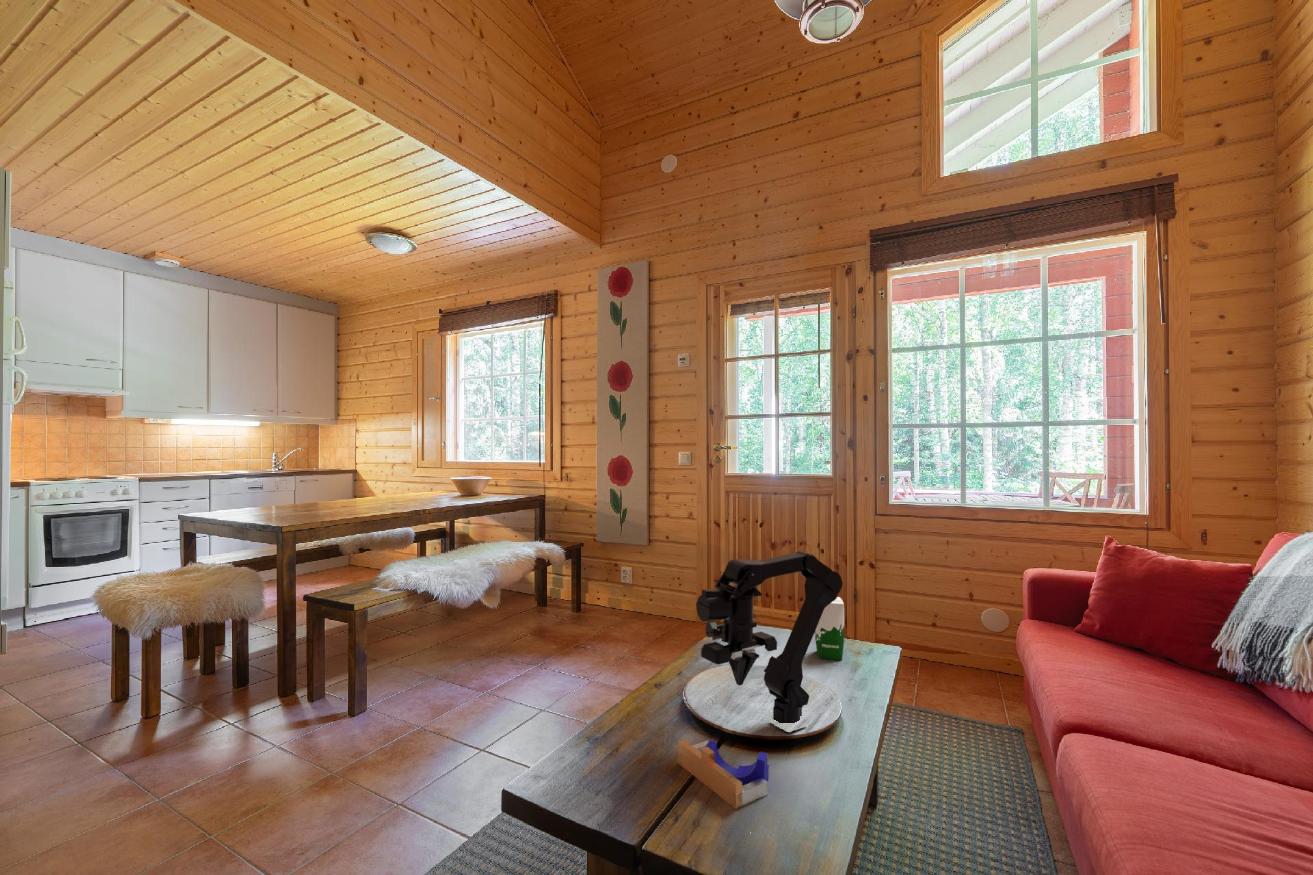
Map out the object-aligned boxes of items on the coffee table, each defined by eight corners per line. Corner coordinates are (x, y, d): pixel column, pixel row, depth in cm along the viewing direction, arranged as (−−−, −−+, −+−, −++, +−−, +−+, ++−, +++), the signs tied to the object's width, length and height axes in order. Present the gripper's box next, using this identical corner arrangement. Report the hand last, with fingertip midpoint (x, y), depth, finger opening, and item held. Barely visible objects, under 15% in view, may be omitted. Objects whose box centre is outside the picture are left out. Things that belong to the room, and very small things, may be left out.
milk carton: (841, 651, 187) (842, 590, 187) (845, 662, 178) (846, 597, 178) (813, 649, 188) (814, 588, 188) (816, 659, 179) (817, 595, 179)
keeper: (707, 751, 124) (707, 722, 124) (767, 794, 109) (767, 760, 109) (677, 762, 119) (678, 731, 119) (735, 808, 104) (736, 773, 104)
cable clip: (768, 779, 114) (769, 749, 114) (763, 792, 110) (764, 760, 110) (711, 765, 119) (711, 736, 119) (704, 777, 114) (705, 747, 115)
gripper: (746, 602, 142) (745, 664, 142) (686, 613, 132) (685, 680, 132) (779, 613, 133) (778, 680, 133) (718, 626, 123) (716, 699, 123)
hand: (739, 684), depth 130 cm, fingers closed
